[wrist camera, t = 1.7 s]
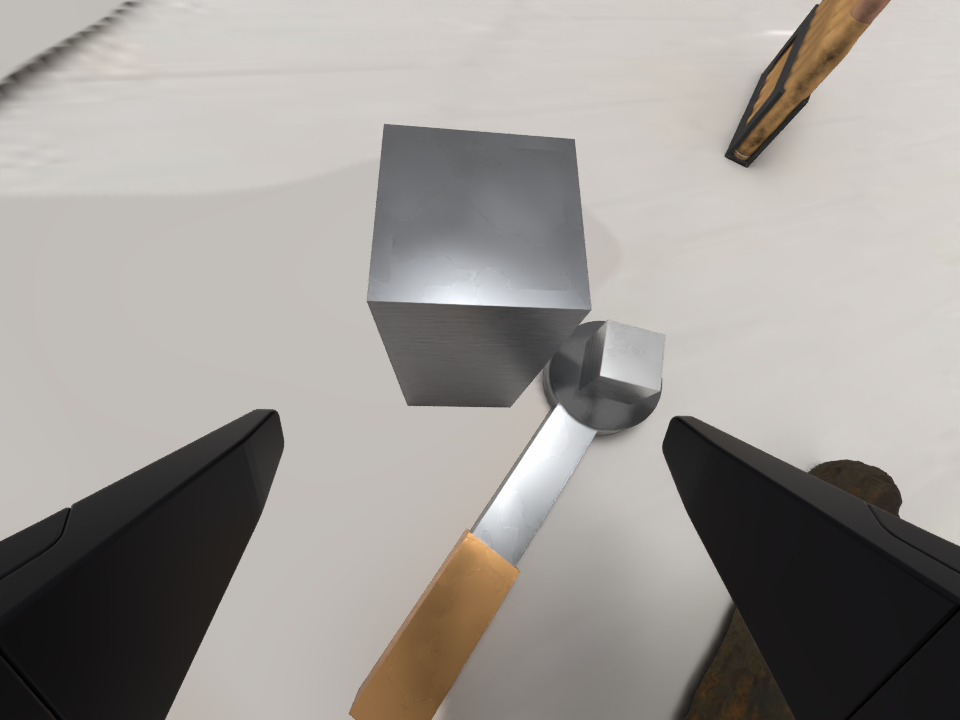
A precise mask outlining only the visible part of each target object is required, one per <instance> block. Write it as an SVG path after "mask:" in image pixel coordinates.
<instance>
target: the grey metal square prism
mask: <svg viewBox="0 0 960 720" xmlns="http://www.w3.org/2000/svg"><path fill="white" fill-rule="evenodd" d="M367 303H368V305H369V308H370V310H371V313H372V315H373V318H374V321H375V323H376V326H377V328H378V331H379V333H380V335H381V338H382V341H383V344H384V346H385V349H386V351H387V354H388V356H389V359H390V362H391V364H392V367H393V369H394V372H395V374H396V377H397V379H398V382H399V384H400V387H401V390H402V392H403V395H404V397H405V400H406V402H407V405H408V406H458V407H511V406H512V405H513V403H514V402H515V401H516V400H517V399H518V397H519V396H520V395H521V394H522V393H523V391H524V390H525V389H526V388H527V387H528V385H529V384H530V383H531V382H532V381H533V379H534V378H535V377H536V376H537V375H538V373H539V372H540V371H541V370H542V369H543V367H544V366H545V365H546V364H547V363H548V361H549V360H550V359H551V358H552V357H553V355H554V354H555V353H556V352H557V351H558V349H559V348H560V347H561V346H562V345H563V343H564V342H565V341H566V340H567V339H568V337H569V336H570V335H571V334H572V333H573V331H574V330H575V329H576V328H577V327H578V325H579V324H580V323H581V322H582V321H583V319H584V318H585V317H586V316H587V315H588V313H589V312H590V311H591V300H590V290H589V280H588V270H587V259H586V249H585V239H584V230H583V219H582V208H581V198H580V188H579V178H578V168H577V158H576V148H575V139H566V138H553V137H541V136H528V135H516V134H503V133H490V132H478V131H465V130H453V129H440V128H428V127H415V126H403V125H390V124H384V129H383V139H382V150H381V160H380V170H379V180H378V191H377V201H376V212H375V221H374V232H373V242H372V252H371V262H370V272H369V284H368V294H367Z"/></svg>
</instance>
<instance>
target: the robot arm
mask: <svg viewBox="0 0 960 720" xmlns="http://www.w3.org/2000/svg"><path fill="white" fill-rule="evenodd" d="M283 449H284V437H283V432H282V427H281V422H280V417H279V414H278V412H277V411H276V410H273V409H256V410H253V411H252V412H250V413H248V414H246V415H244V416H242V417H240V418H238V419H236V420H234V421H232V422H231V423H229V424H227V425H225V426H223V427H221V428H219V429H217V430H215V431H213V432H211V433H209V434H207V435H205V436H204V437H201V438H200V439H198V440H196V441H194V442H192V443H190V444H188V445H186V446H184V447H182V448H180V449H178V450H177V451H175V452H173V453H171V454H169V455H167V456H165V457H163V458H161V459H159V460H157V461H155V462H153V463H151V464H150V465H148V466H146V467H144V468H142V469H140V470H138V471H136V472H134V473H132V474H131V475H128V476H126V477H124V478H123V479H121V480H119V481H117V482H115V483H113V484H111V485H109V486H108V487H105V488H103V489H101V490H99V491H98V492H96V493H94V494H92V495H90V496H88V497H86V498H84V499H82V500H80V501H78V502H77V503H74V504H73V505H72V506H71V508H65V509H63V510H61V511H59V512H57V513H55V514H53V515H51V516H49V517H47V518H46V519H44V520H42V521H40V522H38V523H36V524H34V525H32V526H30V527H28V528H26V529H24V530H22V531H20V532H18V533H16V534H14V535H12V536H10V537H8V538H6V539H4V540H2V541H0V720H165V719H166V716H167V714H168V712H169V710H170V708H171V706H172V704H173V702H174V699H175V697H176V695H177V693H178V691H179V689H180V687H181V685H182V682H183V680H184V678H185V676H186V674H187V672H188V670H189V668H190V665H191V663H192V661H193V659H194V657H195V655H196V652H197V651H198V648H199V646H200V644H201V642H202V640H203V638H204V635H205V634H206V631H207V629H208V627H209V625H210V623H211V621H212V619H213V617H214V614H215V612H216V610H217V608H218V606H219V603H220V602H221V600H222V597H223V595H224V593H225V591H226V589H227V587H228V585H229V583H230V580H231V578H232V576H233V574H234V572H235V570H236V568H237V566H238V563H239V561H240V559H241V557H242V555H243V553H244V551H245V548H246V546H247V544H248V542H249V540H250V538H251V536H252V533H253V532H254V529H255V527H256V525H257V523H258V521H259V518H260V516H261V514H262V511H263V509H264V506H265V503H266V500H267V497H268V494H269V491H270V488H271V485H272V482H273V479H274V476H275V473H276V470H277V467H278V464H279V461H280V458H281V456H282V453H283ZM662 450H663V454H664V457H665V460H666V462H667V465H668V467H669V470H670V472H671V475H672V477H673V480H674V482H675V485H676V487H677V490H678V492H679V495H680V497H681V500H682V502H683V504H684V507H685V509H686V511H687V513H688V515H689V517H690V519H691V521H692V523H693V525H694V527H695V529H696V531H697V533H698V535H699V537H700V539H701V541H702V542H703V544H704V546H705V548H706V550H707V552H708V554H709V556H710V558H711V560H712V562H713V563H714V565H715V567H716V569H717V571H718V573H719V575H720V577H721V579H722V581H723V583H724V585H725V586H726V588H727V590H728V592H729V594H730V596H731V598H732V600H733V602H734V604H735V606H736V608H737V609H738V611H739V613H740V615H741V617H742V619H743V621H744V623H745V625H746V627H747V629H748V631H749V632H750V634H751V636H752V638H753V640H754V642H755V644H756V646H757V648H758V650H759V652H760V653H761V655H762V657H763V659H764V661H765V663H766V665H767V667H768V669H769V671H770V673H771V675H772V676H773V678H774V680H775V682H776V684H777V686H778V688H779V690H780V692H781V694H782V696H783V698H784V699H785V701H786V703H787V705H788V707H789V709H790V711H791V713H792V715H793V717H794V719H795V720H960V546H958V545H956V544H954V543H951V542H949V541H947V540H945V539H943V538H940V537H938V536H936V535H934V534H932V533H930V532H927V531H925V530H923V529H921V528H919V527H917V526H915V525H913V524H911V523H909V522H907V521H905V520H902V519H900V518H898V517H896V516H894V515H892V514H890V513H888V512H886V511H884V510H882V509H880V508H878V507H876V506H874V505H872V504H866V502H865V501H863V500H861V499H859V498H857V497H855V496H853V495H851V494H849V493H847V492H845V491H843V490H841V489H839V488H837V487H835V486H833V485H831V484H829V483H827V482H825V481H823V480H821V479H819V478H817V477H815V476H812V475H810V474H808V473H806V472H804V471H802V470H800V469H798V468H796V467H794V466H792V465H790V464H788V463H786V462H784V461H782V460H780V459H778V458H776V457H774V456H772V455H770V454H768V453H766V452H764V451H762V450H760V449H758V448H756V447H753V446H751V445H749V444H747V443H745V442H743V441H741V440H739V439H737V438H735V437H733V436H731V435H729V434H727V433H725V432H723V431H721V430H719V429H717V428H715V427H713V426H711V425H709V424H707V423H705V422H703V421H701V420H699V419H696V418H694V417H692V416H675V417H673V418H672V419H671V421H670V423H669V426H668V429H667V432H666V435H665V438H664V441H663V445H662Z"/></svg>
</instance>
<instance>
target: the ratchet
mask: <svg viewBox="0 0 960 720" xmlns="http://www.w3.org/2000/svg"><path fill="white" fill-rule="evenodd" d="M664 345H665V335H664V334H660V333H656V332H652V331H649V330H645V329H641V328H637V327H633V326H629V325H625V324H622V323H618V322H614V321H610V320H607V321H593V322H587V323H584V324H581V325H579V326H578V327H577V328H576V329H575V330H574V331H573V333H572V334H571V335H570V336H569V337H568V339H567V340H566V341H565V342H564V343H563V345H562V346H561V347H560V348H559V349H558V351H557V352H556V353H555V354H554V355H553V357H552V358H551V359H550V360H549V361H548V363H547V364H546V365H545V367H544V371H543V386H544V391H545V395H546V398H547V400H548V402H549V404H550V406H551V410H550V411H549V413H548V414H547V416H546V417H545V419H544V420H543V422H542V423H541V425H540V426H539V428H538V429H537V431H536V432H535V434H534V435H533V437H532V438H531V440H530V441H529V443H528V444H527V446H526V447H525V449H524V450H523V452H522V453H521V455H520V457H519V458H518V459H517V461H516V462H515V464H514V465H513V467H512V468H511V470H510V471H509V473H508V474H507V476H506V477H505V479H504V480H503V482H502V483H501V485H500V486H499V488H498V489H497V491H496V493H495V494H494V495H493V497H492V498H491V500H490V502H489V503H488V504H487V506H486V507H485V509H484V510H483V512H482V513H481V515H480V516H479V518H478V520H477V521H476V522H475V524H474V525H473V527H472V528H471V530H468V529H466V530H465V532H464V533H463V535H462V536H461V538H460V539H459V541H458V542H457V544H456V545H455V547H454V548H453V550H452V551H451V552H450V554H449V556H448V557H447V558H446V560H445V561H444V563H443V564H442V566H441V568H440V569H439V570H438V572H437V573H436V575H435V576H434V578H433V579H432V581H431V582H430V584H429V585H428V587H427V588H426V590H425V591H424V593H423V594H422V596H421V597H420V599H419V600H418V602H417V603H416V605H415V606H414V608H413V609H412V611H411V612H410V614H409V615H408V617H407V618H406V620H405V621H404V623H403V624H402V626H401V627H400V629H399V630H398V632H397V633H396V635H395V636H394V638H393V639H392V641H391V642H390V644H389V645H388V647H387V648H386V650H385V651H384V653H383V654H382V656H381V657H380V659H379V660H378V662H377V663H376V664H375V666H374V668H373V669H372V670H371V672H370V674H369V675H368V677H367V678H366V679H365V681H364V682H363V684H362V685H361V687H360V688H359V690H358V693H357V695H356V698H355V700H354V702H353V705H352V707H351V709H350V712H349V714H350V715H351V716H352V717H353V718H354V719H355V720H431V719H432V718H433V716H434V714H435V713H436V711H437V709H438V708H439V706H440V704H441V703H442V701H443V699H444V698H445V696H446V694H447V693H448V691H449V689H450V688H451V686H452V684H453V683H454V681H455V679H456V678H457V676H458V674H459V673H460V671H461V669H462V668H463V666H464V664H465V663H466V661H467V659H468V658H469V656H470V654H471V653H472V651H473V649H474V648H475V646H476V644H477V643H478V641H479V639H480V638H481V636H482V634H483V633H484V631H485V629H486V628H487V626H488V624H489V623H490V621H491V619H492V618H493V616H494V614H495V613H496V611H497V609H498V608H499V606H500V604H501V603H502V601H503V599H504V598H505V596H506V594H507V593H508V591H509V589H510V588H511V586H512V584H513V583H514V581H515V579H516V578H517V576H518V574H519V573H520V571H519V570H518V569H517V568H516V567H515V566H516V564H517V563H518V561H519V560H520V558H521V556H522V555H523V553H524V551H525V550H526V548H527V546H528V545H529V543H530V541H531V540H532V538H533V536H534V535H535V533H536V531H537V530H538V528H539V527H540V525H541V523H542V522H543V520H544V518H545V517H546V515H547V513H548V512H549V510H550V508H551V507H552V505H553V503H554V502H555V500H556V499H557V497H558V495H559V494H560V492H561V490H562V489H563V487H564V485H565V484H566V482H567V480H568V479H569V477H570V475H571V474H572V472H573V471H574V469H575V467H576V466H577V464H578V462H579V461H580V459H581V457H582V456H583V454H584V452H585V451H586V449H587V447H588V446H589V444H590V443H591V441H592V439H593V438H594V436H595V435H607V434H612V433H615V432H618V431H621V430H624V429H627V428H630V427H633V426H635V425H637V424H639V423H641V422H642V421H644V420H645V419H646V418H647V417H648V416H649V415H650V414H651V413H652V412H653V410H654V409H655V407H656V406H657V404H658V401H659V399H660V395H661V391H662V368H663V356H664Z"/></svg>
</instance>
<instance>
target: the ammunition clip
mask: <svg viewBox="0 0 960 720" xmlns="http://www.w3.org/2000/svg"><path fill="white" fill-rule="evenodd" d="M890 1H891V0H823V1H822V2H821V3H820V4H819V5H818V4H816V5H815V7H814V8H813V9H812V10H811V12H810V13H809V14H808V16H807V17H806V18H805V19H804V21H803V22H802V23H801V25H800V26H799V27H798V28H797V30H796V31H795V32H794V34H793V35H792V36H791V38H790V39H789V40H788V41H787V43H786V44H785V45H784V47H783V48H782V49H781V50H780V52H779V53H778V54H777V56H776V57H775V58H774V59H773V61H772V62H771V63H770V65H769V66H768V67H767V69H766V70H765V71H764V72H763V74H762V75H761V77H760V80H759V82H758V84H757V86H756V88H755V91H754V93H753V95H752V97H751V99H750V102H749V104H748V106H747V108H746V110H745V112H744V115H743V117H742V119H741V121H740V123H739V126H738V128H737V130H736V132H735V134H734V137H733V139H732V141H731V143H730V145H729V148H728V150H727V152H726V154H725V157H727V158H729V159H731V160H733V161H735V162H737V163H739V164H741V165H743V166H745V167H748V166H749V165H750V164H751V163H752V162H753V161H754V160H755V159H756V158H757V157H758V156H759V155H760V153H761V152H762V151H763V150H764V149H765V148H766V147H767V146H768V145H769V144H770V143H771V142H772V140H773V139H774V138H775V137H776V136H777V135H778V134H779V133H780V132H781V131H782V130H783V129H784V128H785V126H786V125H787V124H788V123H789V122H790V121H791V120H792V119H793V118H794V117H795V116H796V115H797V113H798V112H799V111H800V110H801V109H802V108H803V107H804V106H805V105H806V104H807V102H808V100H809V97H810V95H811V93H812V92H813V91H814V90H815V89H816V88H817V87H818V85H819V84H820V83H821V82H822V81H823V80H824V79H825V78H826V77H827V76H828V75H829V74H830V72H831V71H832V70H833V69H834V68H835V67H836V66H837V65H838V64H839V63H840V62H841V61H842V59H843V58H844V57H845V56H846V55H847V54H848V52H849V51H850V50H851V48H852V47H853V45H854V44H855V42H856V41H857V40H858V38H859V37H860V36H861V35H862V33H863V32H864V31H865V30H866V29H867V28H868V27H869V25H870V24H871V23H872V21H873V20H874V19H875V18H876V17H877V16H878V14H879V13H880V12H881V11H882V10H883V9H884V8H885V7H886V5H887V4H888V3H889V2H890Z"/></svg>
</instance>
